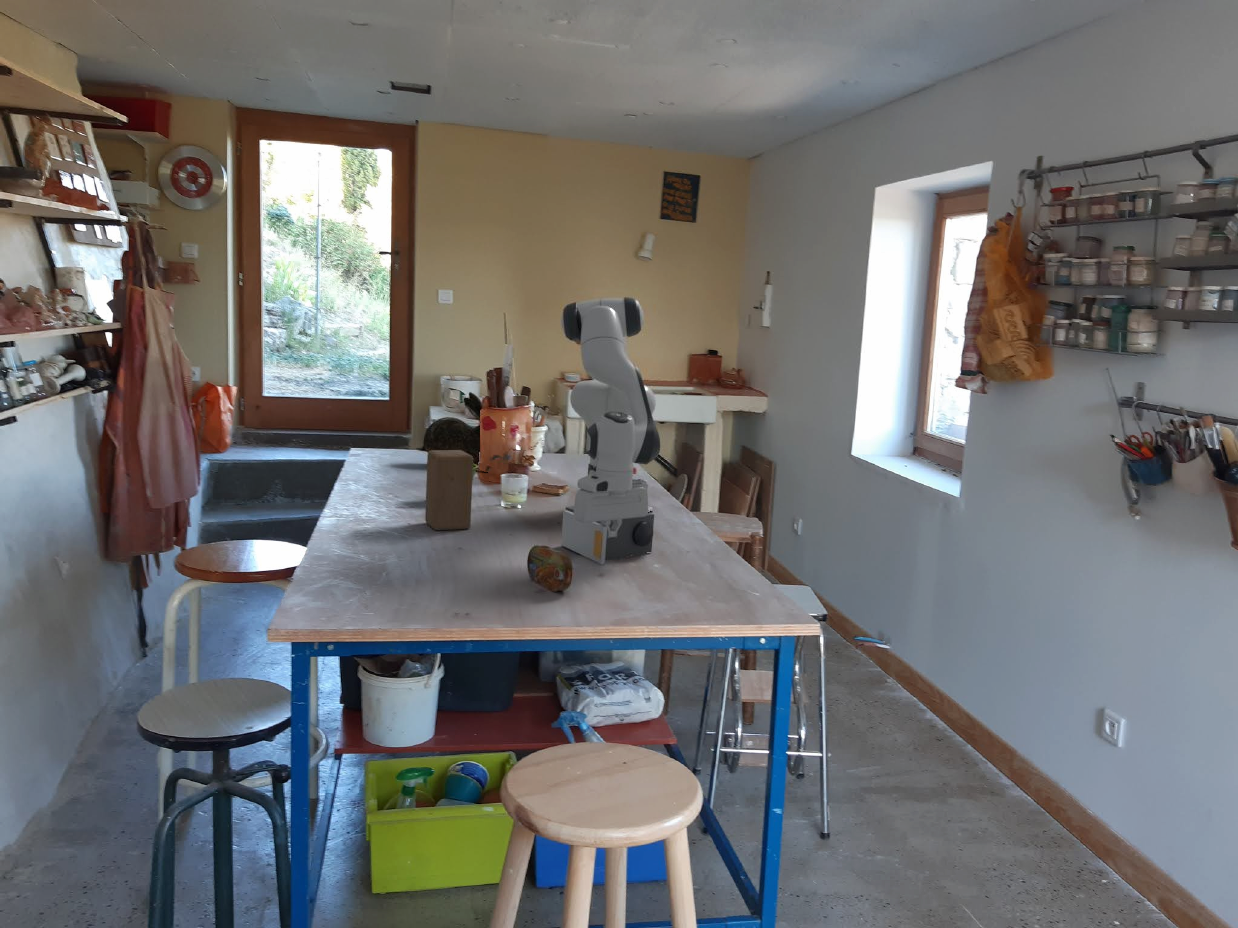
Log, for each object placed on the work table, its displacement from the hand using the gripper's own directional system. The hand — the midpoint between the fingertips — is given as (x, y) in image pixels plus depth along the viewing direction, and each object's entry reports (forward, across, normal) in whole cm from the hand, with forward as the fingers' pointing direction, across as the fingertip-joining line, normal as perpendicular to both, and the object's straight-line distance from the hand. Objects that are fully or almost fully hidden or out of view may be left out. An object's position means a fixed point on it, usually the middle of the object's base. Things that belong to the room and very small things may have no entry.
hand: (610, 537), depth 228 cm
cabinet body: (+6, -8, -11) cm, 15 cm away
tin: (+7, +23, +9) cm, 26 cm away
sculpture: (+6, -26, -122) cm, 125 cm away
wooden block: (+6, +18, -47) cm, 51 cm away
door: (+6, +2, -8) cm, 10 cm away
